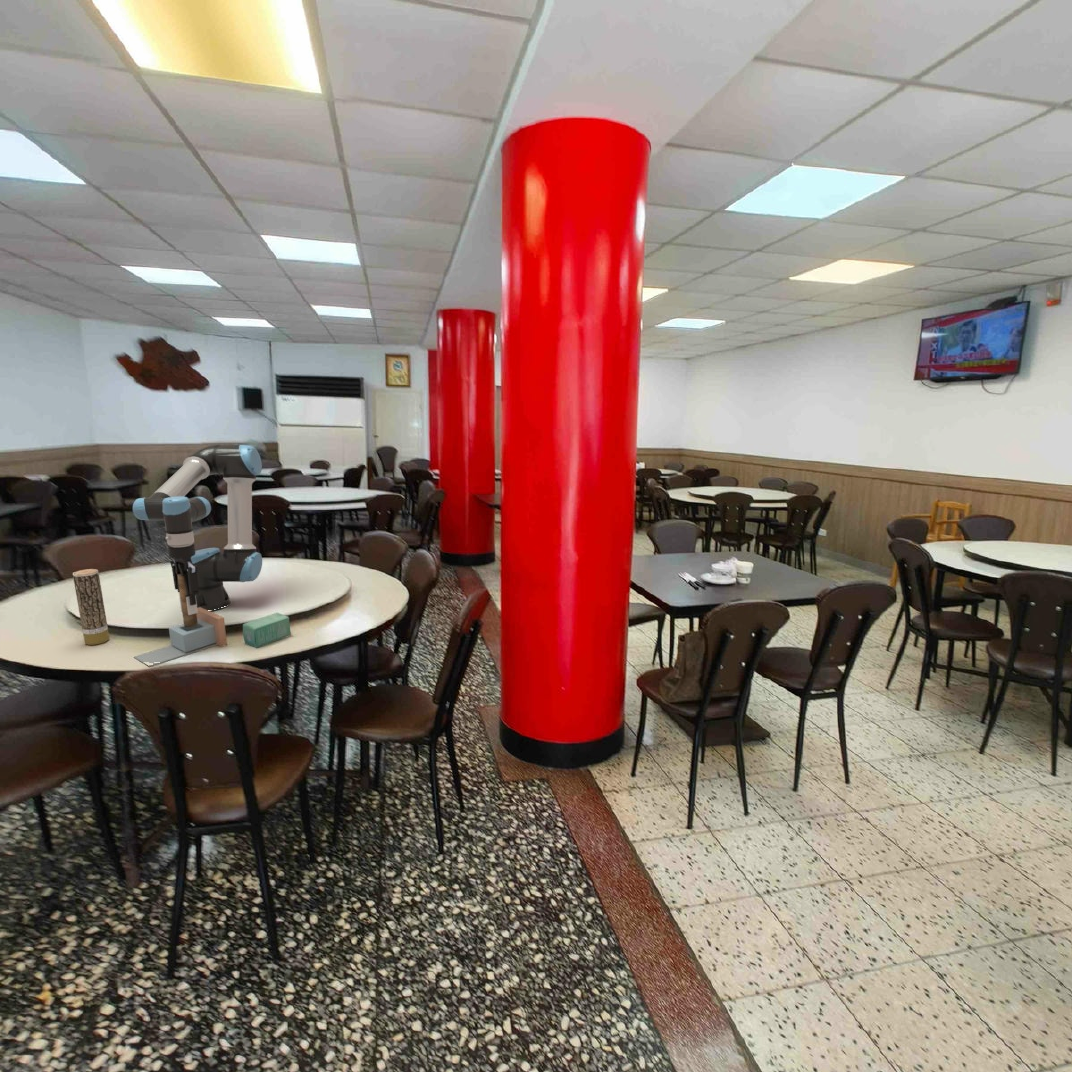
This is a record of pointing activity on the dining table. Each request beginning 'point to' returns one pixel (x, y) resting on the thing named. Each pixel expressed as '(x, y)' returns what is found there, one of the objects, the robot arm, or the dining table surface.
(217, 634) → the wall
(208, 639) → the socket block
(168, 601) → the dining table surface
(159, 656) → the mat
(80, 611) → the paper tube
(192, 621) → the dowel
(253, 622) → the box
